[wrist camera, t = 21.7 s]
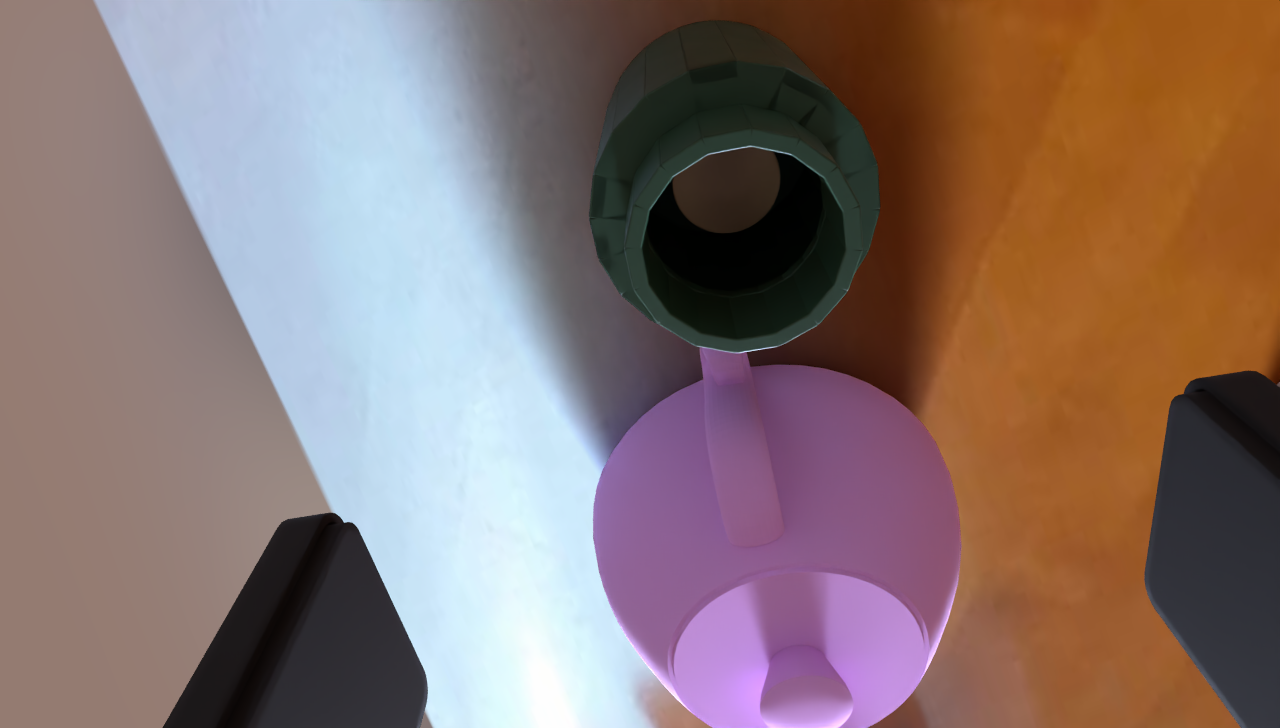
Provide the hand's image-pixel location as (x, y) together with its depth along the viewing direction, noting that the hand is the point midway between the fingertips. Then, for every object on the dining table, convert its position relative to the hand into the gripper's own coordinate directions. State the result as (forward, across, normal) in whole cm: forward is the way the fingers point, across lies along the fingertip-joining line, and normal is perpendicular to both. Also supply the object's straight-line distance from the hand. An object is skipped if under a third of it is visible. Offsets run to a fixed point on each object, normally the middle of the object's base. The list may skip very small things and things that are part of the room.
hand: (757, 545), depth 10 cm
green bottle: (+27, -1, +2) cm, 27 cm away
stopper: (+27, -1, +2) cm, 27 cm away
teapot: (+27, -1, +22) cm, 35 cm away
